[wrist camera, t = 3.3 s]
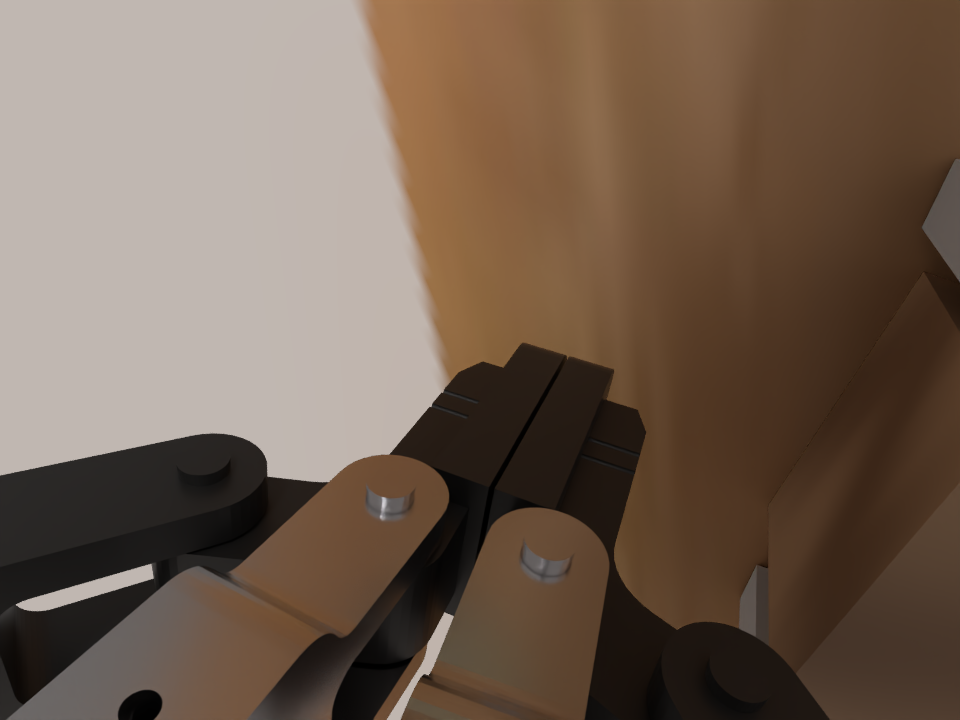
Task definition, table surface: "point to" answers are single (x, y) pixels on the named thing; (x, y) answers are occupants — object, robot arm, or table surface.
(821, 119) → the table surface
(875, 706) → the block
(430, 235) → the table surface
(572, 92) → the table surface
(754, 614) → the track
